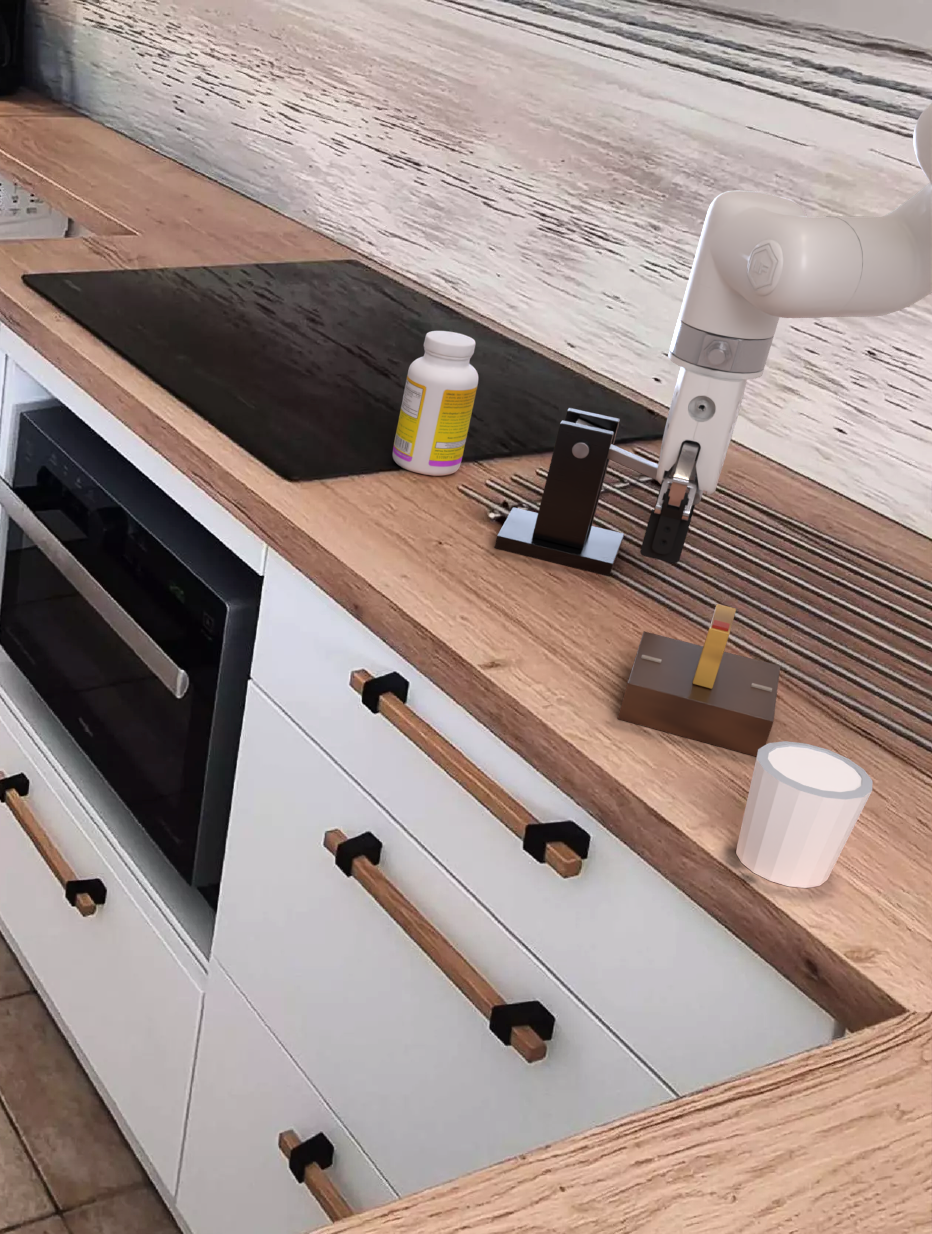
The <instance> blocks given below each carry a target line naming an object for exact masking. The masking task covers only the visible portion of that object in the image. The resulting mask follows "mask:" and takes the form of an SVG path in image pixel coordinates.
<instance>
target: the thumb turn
mask: <svg viewBox="0 0 932 1234" xmlns="http://www.w3.org/2000/svg"><path fill="white" fill-rule="evenodd" d="M736 611H737V608H735V607H731V606H727V605H723V604H720V603H717V604H715V607H714V610H713V614H712V616H711V617H712V618H711V621H710V624H709V628H708V629H707V630H708V631H707V633H706V636H705V641H704V643H703V645H702V646H703V650H702V653H701V656H700V659H699V663H698V666H697V669H696V673H695V676H694V679H693V684H696V685H699V686H703V687H707V688H710V689H712V688H713V685H714V682H715V679H716V675H717V672H718V669H719V666H720V663H721V659H722V656H723V653H724V652H725V649H726V647H727V643H728V640H729V638H730V637H729V636H730V634H731V630H732V627H733V623H734V619H735V615H736Z"/></svg>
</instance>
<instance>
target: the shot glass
mask: <svg viewBox="0 0 932 1234" xmlns="http://www.w3.org/2000/svg"><path fill="white" fill-rule="evenodd" d="M873 784H874V783H873V779H872V778H871V776H870V775H869V774H868V773H867V772H866V770H865V769H864V768H863V767H862V766H860V765H859V764H857V763H856V762H854V761H853V760H851V759H850V758H848V757H846V756H844V755H841V754H839V753H836V752H835V751H832V750H830V749H827V748H823V747H821V746H817V745H814V744H809V743H806V742H798V741H797V742H795V741H787V740H783V741H777V742H776V741H775V742H767V743H766V745H765V746H763V747H761V748H760V749H758V753H757V757H756V759H755V762H754V768H753V772H752V776H751V780H750V784H749V785H750V786H749V790H748V795H747V798H746V799H747V800H746V805H745V808H744V811H743V817H742V821H741V827H740V830H739V834H738V835H739V836H738V840H737V844H736V851H735V854H736V856H737V858H738V859H739V861H740V863H741V864H742V865H743V866H745V867H746V868H747V869H748V870H749V871H750V872H752V873H754V874H755V875H757V876H759V877H762V878H763V879H765V880H767V881H769V882H773V883H776V884H779V885H783V886H786V887H791V888H801V889H810V888H815V887H820V886H821V885H823V884H825V882H827V881H828V879H829V877H830V875H831V873H832V871H833V869H834V867H835V865H836V864H837V861H838V859H839V858H840V855H841V853H842V852H843V849H844V847H845V846H846V843H847V841H848V840H849V837H850V836H851V834H852V831H853V830H854V828H855V826H856V824H857V822H858V820H859V818H860V816H861V814H862V812H863V810H864V809H865V806H866V804H867V802H868V800H869V798H870V796H871V794H872V792H873Z"/></svg>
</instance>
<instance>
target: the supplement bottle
mask: <svg viewBox="0 0 932 1234" xmlns="http://www.w3.org/2000/svg"><path fill="white" fill-rule="evenodd" d="M423 349H424V354H423V356H420V357H418V358H416V359H415V360H413V361H412V362H411V363H410V365H409V367H408V371H407V375H406V380H405V386H404V391H403V396H402V402H401V406H400V411H399V416H398V422H397V426H396V431H395V437H394V442H393V447H392V459H393V462H395V463H396V465H397V466H399V467H401V468H402V469H404V470H407V471H409V472H413V473H417V474H419V475H420V474H421V475H425V476H433V477H435V476H437V477H441V476H448V475H452V474H454V473H456V472H457V471H458V470H459V469H460V467H461V464H462V460H463V456H464V450H465V447H466V443H467V437H468V434H469V433H468V432H469V429H470V423H471V418H472V415H473V414H472V413H473V409H474V404H475V399H476V395H477V390H478V384H479V374H478V370H476V368H475V367H474V366H473V365H472V364H471V363H470V360H471V358H472V357H473V355H474V353H475V349H476V340H475V339H474V338H472V337H471V336H468V335H466V334H463V333H460V332H456V331H455V332H453V331H448V330H432V331H428V332H427V333H426V334H425V338H424V341H423Z"/></svg>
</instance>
